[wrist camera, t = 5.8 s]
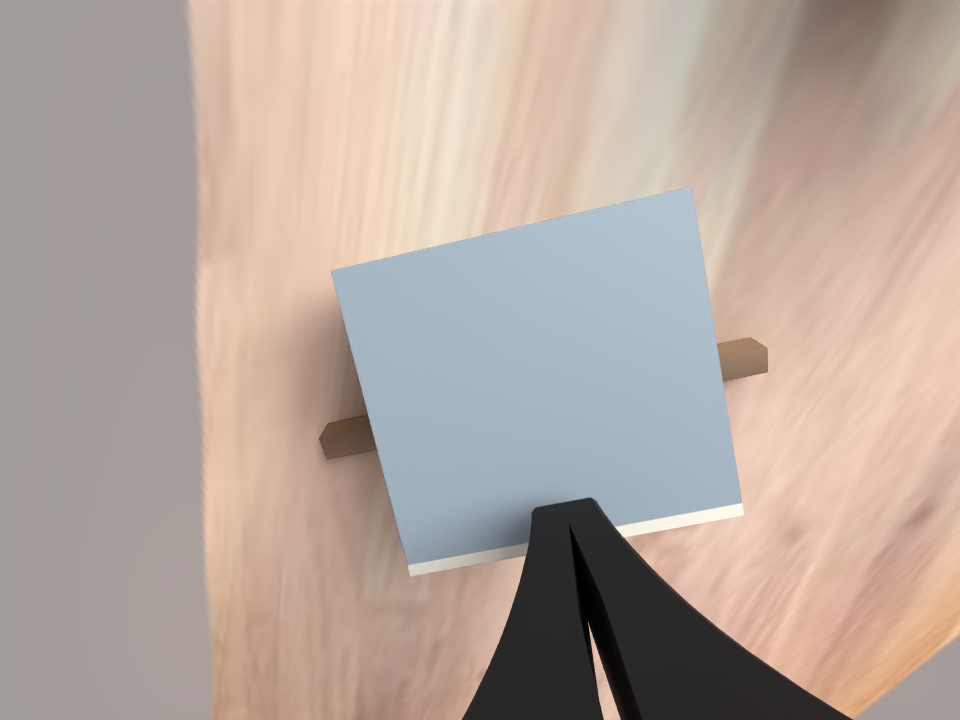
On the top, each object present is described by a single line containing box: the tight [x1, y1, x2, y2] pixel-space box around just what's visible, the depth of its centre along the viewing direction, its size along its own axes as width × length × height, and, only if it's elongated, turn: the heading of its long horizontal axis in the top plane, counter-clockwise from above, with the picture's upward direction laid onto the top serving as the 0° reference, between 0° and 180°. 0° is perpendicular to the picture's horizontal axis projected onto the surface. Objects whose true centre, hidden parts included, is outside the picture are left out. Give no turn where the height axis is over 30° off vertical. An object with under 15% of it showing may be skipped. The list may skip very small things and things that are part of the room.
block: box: [331, 187, 744, 577], centre depth 13 cm, size 4×8×8 cm
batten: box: [319, 337, 768, 460], centre depth 16 cm, size 1×14×1 cm, turn 103°
